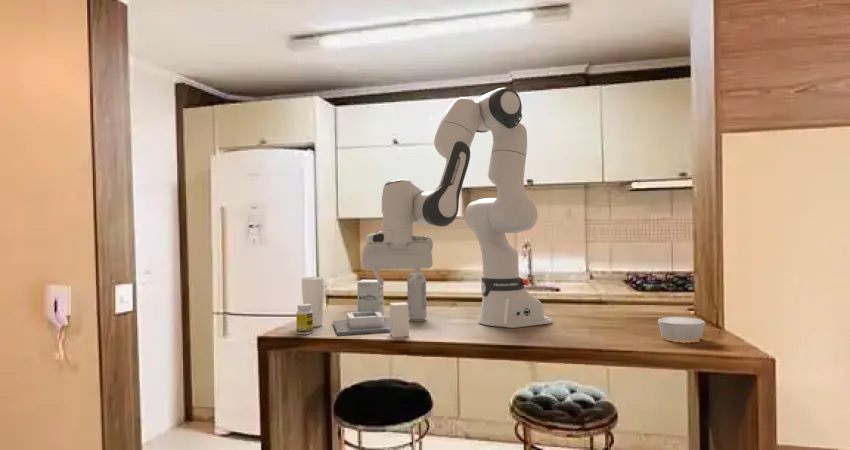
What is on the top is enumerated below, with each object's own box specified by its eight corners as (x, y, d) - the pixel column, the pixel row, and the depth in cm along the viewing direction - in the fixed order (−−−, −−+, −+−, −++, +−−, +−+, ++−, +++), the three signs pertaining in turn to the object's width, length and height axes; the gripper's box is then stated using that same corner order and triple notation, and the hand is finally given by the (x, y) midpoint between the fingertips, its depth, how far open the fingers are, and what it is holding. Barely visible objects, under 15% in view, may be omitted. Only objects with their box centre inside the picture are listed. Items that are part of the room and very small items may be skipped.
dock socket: (388, 320, 183) (388, 308, 183) (399, 331, 166) (399, 317, 165) (332, 324, 179) (332, 311, 179) (337, 335, 161) (337, 321, 161)
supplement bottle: (309, 334, 163) (308, 305, 163) (293, 334, 164) (293, 305, 164) (315, 331, 168) (315, 303, 168) (300, 331, 169) (300, 303, 169)
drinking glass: (314, 323, 181) (313, 276, 181) (329, 325, 177) (328, 277, 177) (298, 326, 176) (297, 278, 175) (313, 328, 172) (312, 279, 171)
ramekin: (649, 338, 152) (648, 318, 152) (679, 334, 156) (679, 315, 156) (683, 346, 141) (682, 325, 141) (714, 342, 146) (714, 321, 146)
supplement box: (357, 320, 185) (356, 281, 184) (363, 316, 192) (362, 279, 192) (379, 320, 183) (378, 281, 183) (384, 316, 191) (383, 279, 190)
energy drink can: (410, 318, 187) (409, 272, 186) (428, 318, 186) (427, 272, 185) (406, 321, 181) (405, 274, 181) (424, 321, 180) (423, 274, 179)
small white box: (405, 333, 163) (405, 302, 163) (408, 336, 159) (408, 304, 159) (390, 334, 162) (389, 303, 162) (393, 337, 158) (392, 305, 158)
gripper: (429, 235, 165) (429, 283, 165) (360, 236, 161) (360, 284, 161) (435, 236, 159) (435, 285, 159) (363, 236, 154) (363, 287, 154)
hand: (397, 285), depth 160 cm, fingers open, 8 cm apart
